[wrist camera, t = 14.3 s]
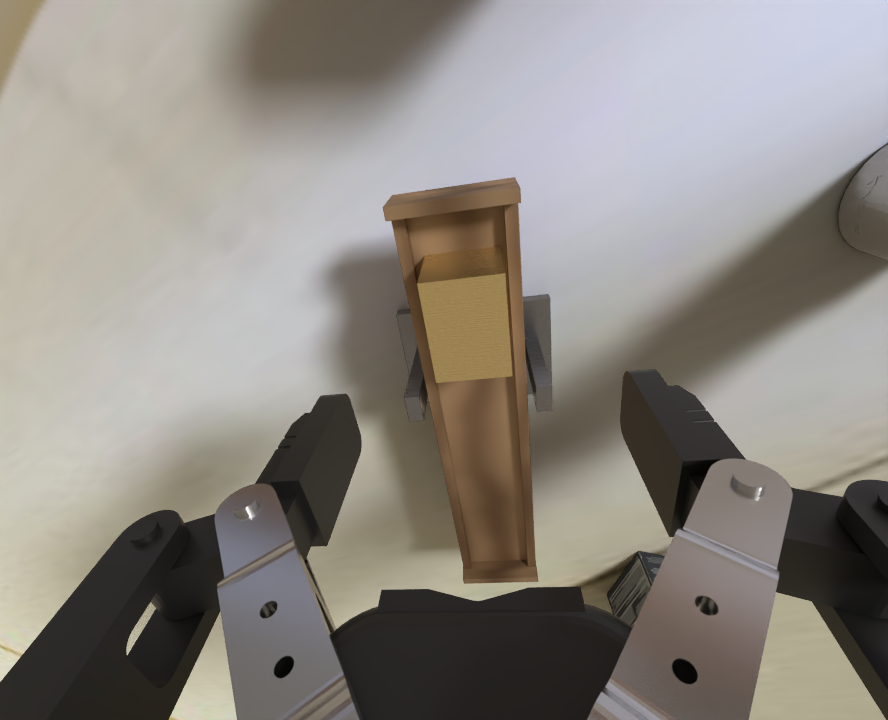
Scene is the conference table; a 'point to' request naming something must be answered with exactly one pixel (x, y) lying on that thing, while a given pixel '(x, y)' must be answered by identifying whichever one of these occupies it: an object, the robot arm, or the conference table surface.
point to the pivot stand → (535, 353)
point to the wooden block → (466, 314)
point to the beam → (477, 381)
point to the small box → (634, 586)
